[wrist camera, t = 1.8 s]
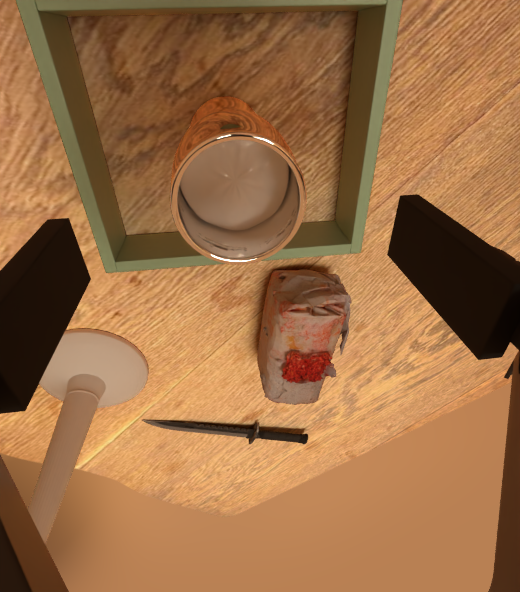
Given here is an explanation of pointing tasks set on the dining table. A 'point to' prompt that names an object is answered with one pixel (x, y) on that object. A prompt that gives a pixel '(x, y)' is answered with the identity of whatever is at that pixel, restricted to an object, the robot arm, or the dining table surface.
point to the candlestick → (81, 406)
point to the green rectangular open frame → (61, 3)
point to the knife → (231, 431)
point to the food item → (301, 333)
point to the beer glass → (235, 185)
